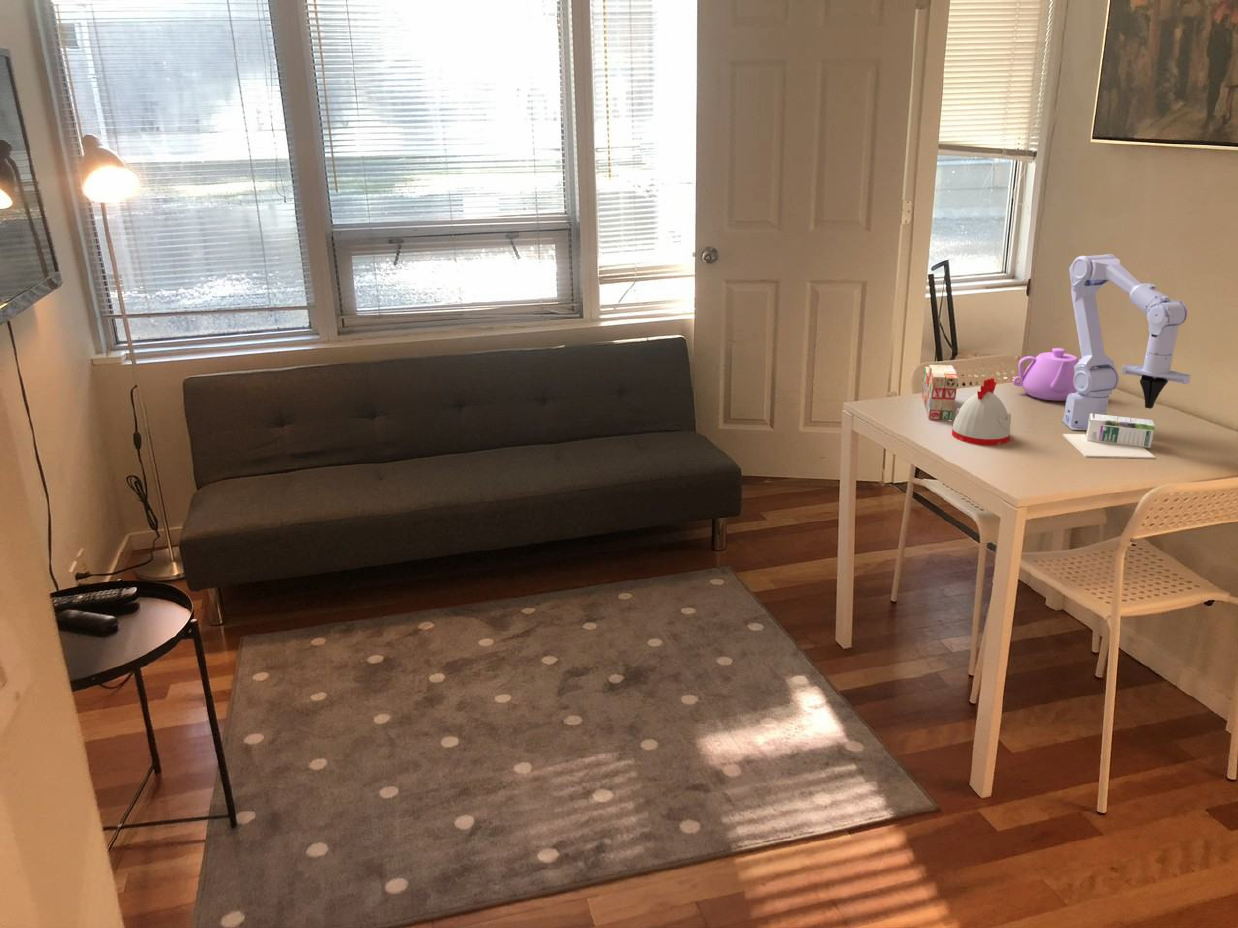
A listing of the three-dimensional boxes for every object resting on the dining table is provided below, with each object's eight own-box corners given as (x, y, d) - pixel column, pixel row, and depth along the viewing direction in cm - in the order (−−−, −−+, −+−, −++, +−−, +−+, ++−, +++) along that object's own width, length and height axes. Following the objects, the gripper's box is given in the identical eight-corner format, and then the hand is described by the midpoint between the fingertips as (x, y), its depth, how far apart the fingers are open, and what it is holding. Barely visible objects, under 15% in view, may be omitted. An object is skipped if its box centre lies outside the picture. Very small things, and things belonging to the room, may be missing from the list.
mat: (1085, 457, 233) (1085, 455, 233) (1062, 435, 248) (1063, 433, 248) (1155, 458, 232) (1155, 457, 231) (1128, 436, 246) (1128, 435, 246)
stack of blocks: (921, 397, 280) (925, 356, 276) (944, 398, 279) (948, 357, 275) (928, 420, 260) (933, 375, 256) (953, 421, 259) (958, 377, 255)
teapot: (1018, 406, 271) (1025, 358, 266) (1007, 385, 291) (1013, 340, 286) (1103, 411, 266) (1112, 362, 262) (1086, 389, 286) (1093, 343, 281)
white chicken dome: (1018, 436, 248) (1027, 379, 242) (993, 449, 239) (1001, 390, 233) (967, 424, 257) (974, 369, 252) (941, 436, 248) (948, 379, 243)
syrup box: (1151, 448, 237) (1085, 441, 242) (1149, 441, 242) (1085, 434, 248) (1155, 426, 235) (1089, 419, 240) (1153, 419, 240) (1089, 412, 245)
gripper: (1198, 354, 229) (1186, 409, 234) (1131, 344, 238) (1121, 398, 243) (1190, 360, 224) (1178, 416, 229) (1123, 350, 233) (1113, 404, 238)
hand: (1149, 407), depth 235 cm, fingers closed
